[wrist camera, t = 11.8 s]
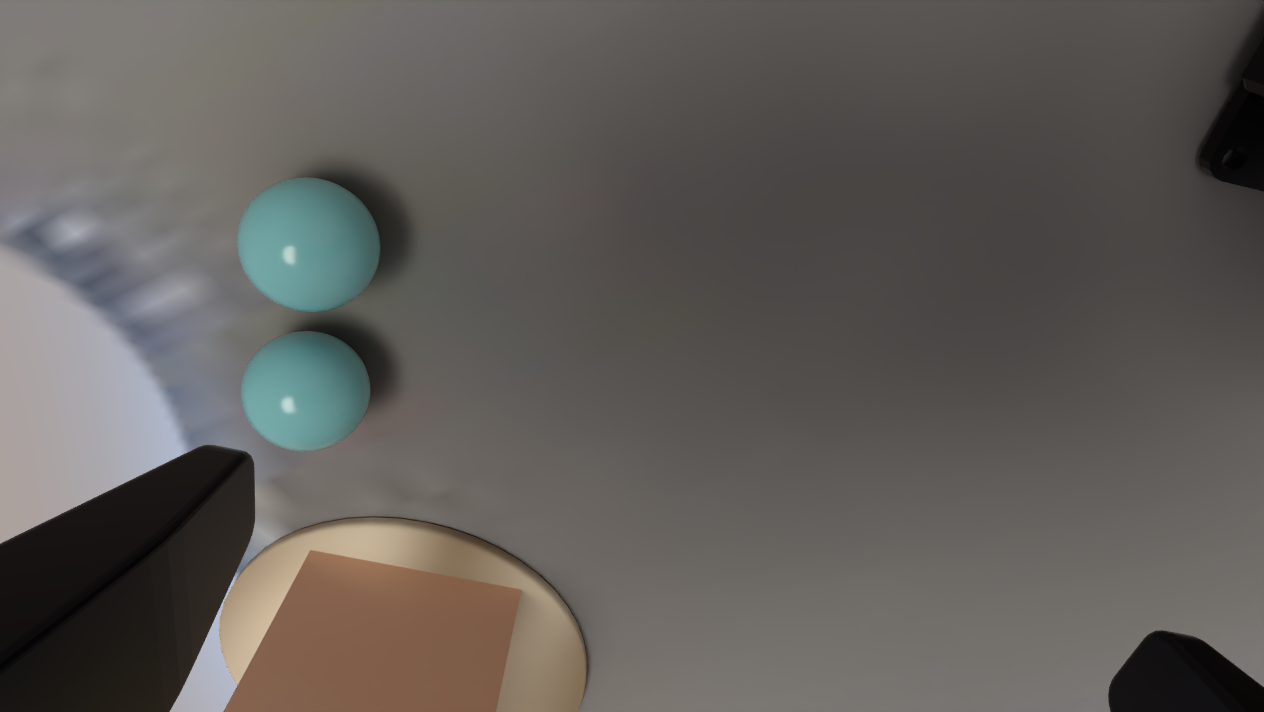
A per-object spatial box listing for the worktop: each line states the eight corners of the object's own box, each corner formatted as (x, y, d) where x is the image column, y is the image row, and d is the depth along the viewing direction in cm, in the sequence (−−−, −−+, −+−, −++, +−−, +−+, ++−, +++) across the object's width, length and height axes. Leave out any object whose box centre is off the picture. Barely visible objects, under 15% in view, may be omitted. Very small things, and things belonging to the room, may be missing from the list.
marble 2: (389, 323, 21) (350, 385, 19) (382, 417, 23) (344, 486, 20) (271, 299, 21) (215, 358, 18) (271, 395, 22) (219, 462, 20)
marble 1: (400, 176, 19) (358, 222, 17) (391, 289, 21) (352, 348, 18) (271, 147, 19) (208, 189, 16) (271, 263, 20) (213, 319, 18)
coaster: (620, 559, 25) (619, 571, 24) (553, 788, 31) (552, 801, 30) (220, 483, 24) (212, 494, 24) (231, 734, 30) (224, 746, 29)
